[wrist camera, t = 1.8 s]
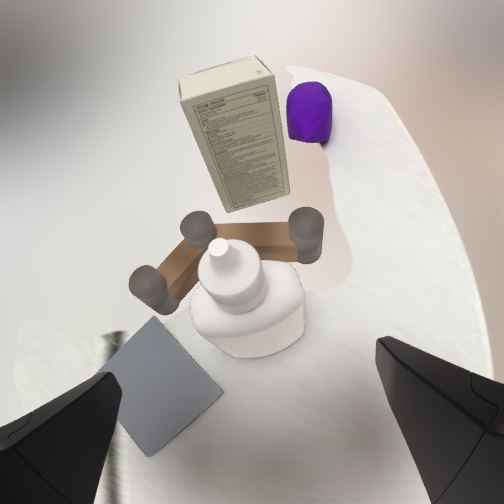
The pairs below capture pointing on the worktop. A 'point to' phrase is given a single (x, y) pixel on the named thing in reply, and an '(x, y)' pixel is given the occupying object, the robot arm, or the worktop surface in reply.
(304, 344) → the worktop surface
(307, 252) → the rail
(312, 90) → the purple faceted pebble
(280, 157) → the skincare box
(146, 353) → the coaster
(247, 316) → the eye dropper bottle
